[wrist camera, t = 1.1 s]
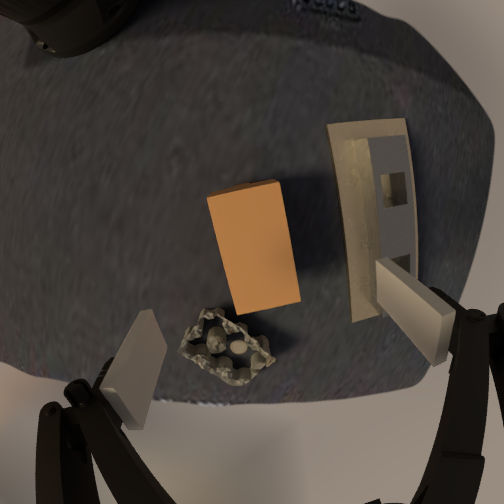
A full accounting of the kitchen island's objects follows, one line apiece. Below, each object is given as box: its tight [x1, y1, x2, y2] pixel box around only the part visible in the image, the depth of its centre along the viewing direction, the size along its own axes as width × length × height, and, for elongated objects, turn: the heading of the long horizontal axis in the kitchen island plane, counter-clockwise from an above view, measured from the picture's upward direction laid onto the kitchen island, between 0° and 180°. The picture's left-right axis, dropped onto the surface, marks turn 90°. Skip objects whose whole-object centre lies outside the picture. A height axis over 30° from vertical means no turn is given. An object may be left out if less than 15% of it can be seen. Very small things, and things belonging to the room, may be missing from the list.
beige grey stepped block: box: [325, 118, 418, 323], centre depth 30 cm, size 24×10×4 cm, turn 12°
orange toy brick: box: [207, 179, 301, 315], centre depth 28 cm, size 11×6×7 cm, turn 12°
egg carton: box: [177, 307, 277, 386], centre depth 34 cm, size 11×8×4 cm
